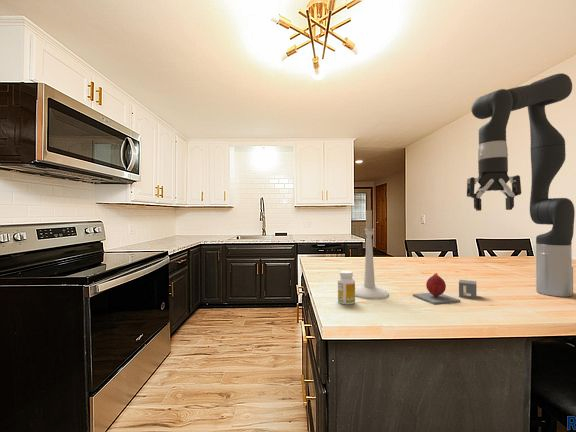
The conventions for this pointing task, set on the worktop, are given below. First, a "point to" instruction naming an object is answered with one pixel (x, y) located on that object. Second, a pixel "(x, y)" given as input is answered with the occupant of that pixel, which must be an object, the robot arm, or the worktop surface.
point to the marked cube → (467, 289)
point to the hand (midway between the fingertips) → (493, 210)
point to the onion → (436, 285)
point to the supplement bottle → (346, 288)
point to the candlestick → (369, 268)
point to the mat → (436, 298)
